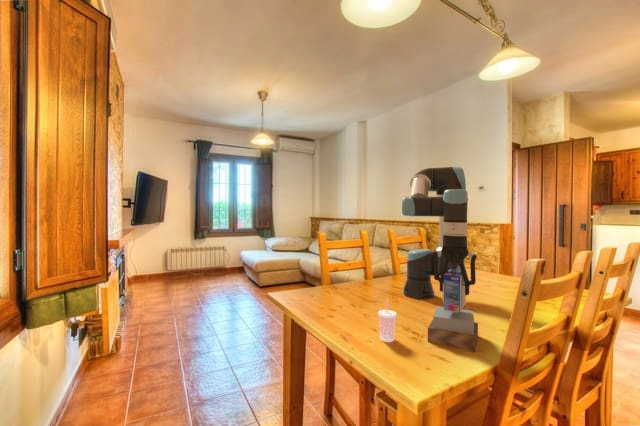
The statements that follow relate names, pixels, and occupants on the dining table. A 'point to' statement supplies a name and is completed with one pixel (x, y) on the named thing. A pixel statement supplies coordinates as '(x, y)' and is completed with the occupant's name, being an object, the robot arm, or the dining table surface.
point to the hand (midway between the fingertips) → (454, 302)
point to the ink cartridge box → (453, 290)
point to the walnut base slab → (453, 338)
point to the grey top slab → (454, 321)
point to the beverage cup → (387, 324)
